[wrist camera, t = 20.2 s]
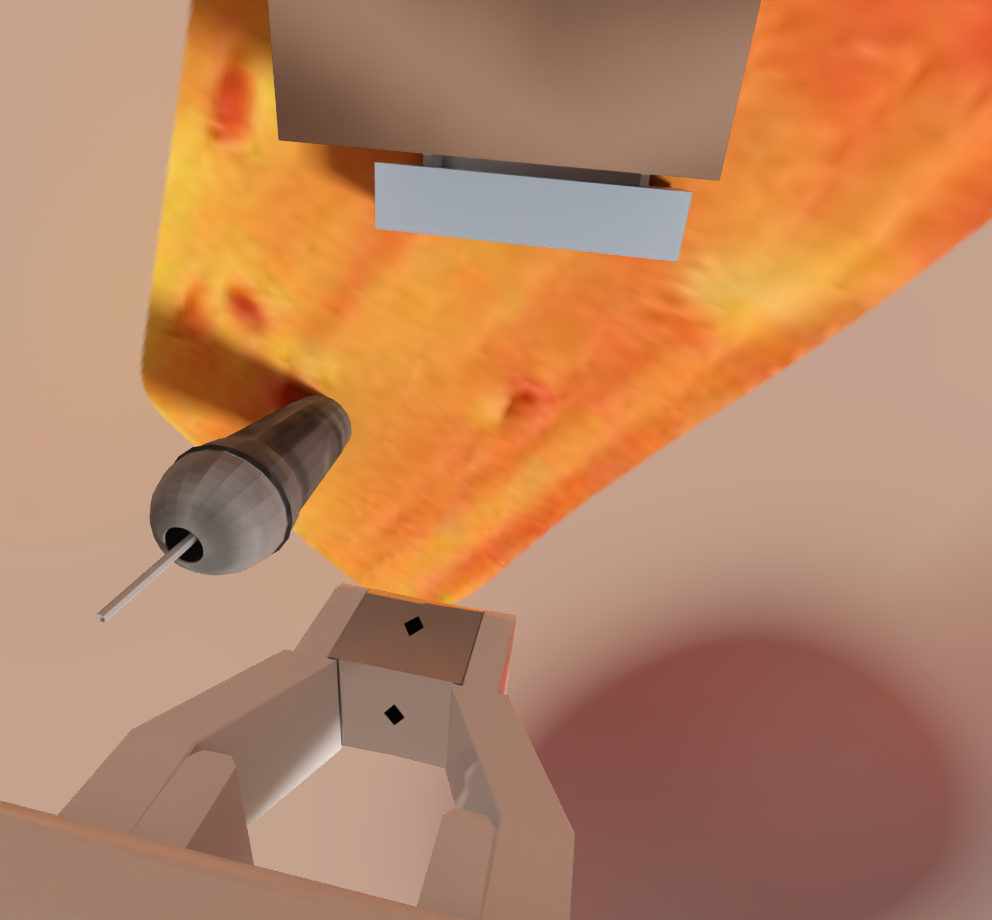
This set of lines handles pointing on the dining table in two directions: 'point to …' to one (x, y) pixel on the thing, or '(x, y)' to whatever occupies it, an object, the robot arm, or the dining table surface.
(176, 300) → the dining table surface
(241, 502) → the beverage cup
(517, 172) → the drawer
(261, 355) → the dining table surface
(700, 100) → the walnut box
